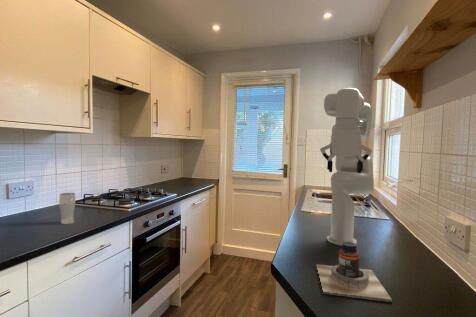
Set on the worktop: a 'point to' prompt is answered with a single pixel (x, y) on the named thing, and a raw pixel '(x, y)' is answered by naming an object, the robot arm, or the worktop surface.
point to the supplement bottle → (349, 260)
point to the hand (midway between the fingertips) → (344, 172)
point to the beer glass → (67, 207)
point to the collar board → (351, 283)
